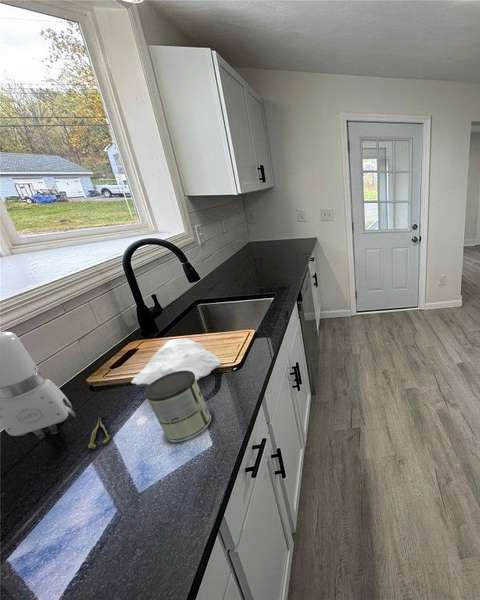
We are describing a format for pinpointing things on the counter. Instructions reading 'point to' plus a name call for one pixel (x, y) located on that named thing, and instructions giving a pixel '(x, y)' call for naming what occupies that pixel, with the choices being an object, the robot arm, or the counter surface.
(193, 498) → the counter surface
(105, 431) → the tongs
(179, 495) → the counter surface
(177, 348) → the crumpled cloth
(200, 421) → the coffee can
